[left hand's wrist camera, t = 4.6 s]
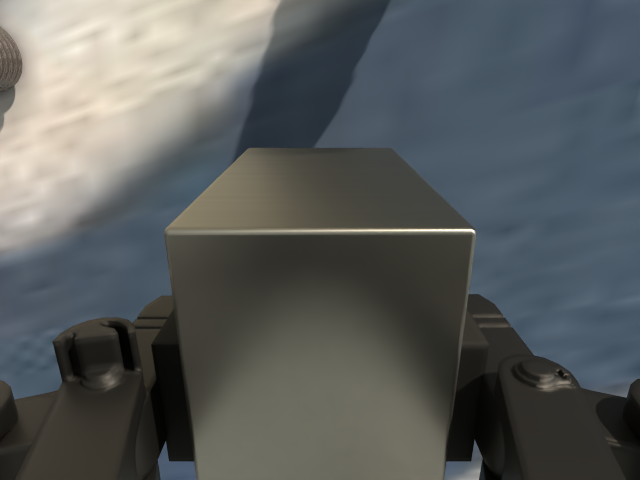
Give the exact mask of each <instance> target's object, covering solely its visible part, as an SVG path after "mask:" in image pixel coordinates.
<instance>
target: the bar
mask: <svg viewBox="0 0 640 480" xmlns="http://www.w3.org/2000/svg"><path fill="white" fill-rule="evenodd" d="M164 235H165V243H166V250H167V258H168V266H169V273H170V281H171V289H172V296H173V304H174V311H175V319H176V327H177V334H178V342H179V350H180V357H181V365H182V372H183V380H184V388H185V395H186V403H187V410H188V418H189V426H190V433H191V441H192V449H193V456H194V464H195V471H196V479H197V480H444V475H445V468H446V460H447V453H448V445H449V437H450V430H451V422H452V415H453V407H454V400H455V392H456V384H457V377H458V369H459V362H460V354H461V347H462V339H463V331H464V324H465V316H466V309H467V301H468V294H469V286H470V278H471V271H472V263H473V256H474V248H475V240H476V230H475V228H474V227H473V226H472V225H471V224H470V223H468V222H467V221H466V220H465V219H464V218H463V217H462V216H461V215H460V214H459V213H458V212H457V211H456V210H455V209H454V208H453V207H452V206H451V205H450V204H449V203H448V202H447V201H446V200H445V199H444V198H443V197H442V196H441V195H440V194H439V193H438V192H436V191H435V190H434V189H433V188H432V187H431V186H430V185H429V184H428V183H427V182H426V181H425V180H424V179H423V178H422V177H421V176H420V175H419V174H418V173H417V172H416V171H415V170H414V169H413V168H412V167H411V166H410V165H409V164H408V163H407V162H405V161H404V160H403V159H402V158H401V157H400V156H399V155H398V154H397V153H396V152H395V151H394V150H393V149H392V148H249V149H247V150H246V151H245V152H244V153H243V154H242V155H241V156H240V157H239V158H238V159H237V160H236V161H235V162H234V163H233V164H232V165H231V166H230V167H229V168H228V169H227V170H226V171H224V172H223V173H222V174H221V175H220V176H219V177H218V178H217V179H216V180H215V181H214V182H213V183H212V184H211V185H210V186H209V187H208V188H207V189H206V190H205V191H204V192H203V193H202V194H201V195H200V196H199V197H198V198H197V199H196V200H195V201H194V202H193V203H192V204H191V205H190V206H189V207H188V208H187V209H186V210H184V211H183V212H182V213H181V214H180V215H179V216H178V217H177V218H176V219H175V220H174V221H173V222H172V223H171V224H170V225H169V226H168V227H167V228H166V229H165V233H164Z"/></svg>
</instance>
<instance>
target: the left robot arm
mask: <svg viewBox="0 0 640 480" xmlns="http://www.w3.org/2000/svg"><path fill="white" fill-rule="evenodd" d="M53 345H54V349H55V353H56V357H57V361H58V365H59V369H60V373H61V378H62V384H61V386H60V388H59V390H57V391H53V392H50V393H45V394H40V395H35V396H30V397H25V398H20V399H15V400H14V397H13V394H12V391H11V387H10V386H9V385H8V384H7V383H5V382H4V381H0V480H160V472H159V466H158V458H159V455H160V453H161V451H162V448H163V446H164V444H165V441H166V444H167V450H168V456H169V461H194V456H193V449H192V441H191V433H190V426H189V418H188V410H187V403H186V395H185V388H184V380H183V372H182V365H181V357H180V350H179V342H178V334H177V327H176V319H175V311H174V304H173V296H161V297H159V298H157V299H156V300H154V301H153V302H151V303H149V304H148V305H146V306H145V308H144V309H143V310H142V312H141V313H140V314H139V316H138V317H137V319H136V320H135V321H134V322H133V323H132V322H130V321H129V320H126V319H122V318H118V317H114V318H99V319H94V320H89V321H86V322H83V323H80V324H77V325H75V326H72V327H71V328H69V329H67V330H65V331H64V332H62V333H60V335H59V336H58V337H57V338H56V339H55V340H54V341H53ZM474 439H475V441H476V443H477V445H478V448H479V450H480V452H481V455H482V457H483V460H482V466H481V472H480V477H479V480H640V379H637V380H636V381H634V382H633V383H632V384H631V385H630V389H629V392H628V395H627V398H625V397H620V396H615V395H610V394H605V393H600V392H595V391H591V390H587V389H583V388H581V387H580V385H579V383H578V381H577V380H576V379H575V377H574V376H573V375H572V374H571V373H570V372H569V371H568V370H566V369H565V368H564V367H562V366H561V365H559V364H557V363H555V362H553V361H550V360H548V359H545V358H542V357H538V356H534V355H533V354H532V352H531V351H530V350H529V348H528V347H527V346H526V344H525V343H524V342H523V341H522V339H521V338H520V337H519V335H518V334H517V333H516V331H515V330H514V329H513V328H512V327H511V325H510V324H509V322H508V321H507V320H506V319H505V318H503V315H502V313H501V312H500V311H499V309H498V308H497V307H496V306H495V304H493V303H492V302H490V301H489V300H487V299H485V298H484V297H482V296H481V295H479V294H468V301H467V309H466V316H465V324H464V331H463V339H462V347H461V354H460V362H459V369H458V377H457V384H456V392H455V400H454V407H453V415H452V422H451V430H450V437H449V445H448V453H447V460H446V461H471V458H472V452H473V446H474Z"/></svg>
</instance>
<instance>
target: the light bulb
mask: <svg viewBox="0 0 640 480" xmlns="http://www.w3.org/2000/svg"><path fill="white" fill-rule="evenodd" d="M21 73H22V59H21V55H20V52H19V50H18V47H17V45H16V44H15V42H14V40H13V39H12V38H11V36H10V35H9V34H8V33H7V32H6V31H5V30H4V29H3V28H2V27H0V92H1V91H5V90H8V89H10V88H11V87H13V86H14V85H15V84H16V83H17V82H18V80H19V78H20V76H21Z"/></svg>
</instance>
